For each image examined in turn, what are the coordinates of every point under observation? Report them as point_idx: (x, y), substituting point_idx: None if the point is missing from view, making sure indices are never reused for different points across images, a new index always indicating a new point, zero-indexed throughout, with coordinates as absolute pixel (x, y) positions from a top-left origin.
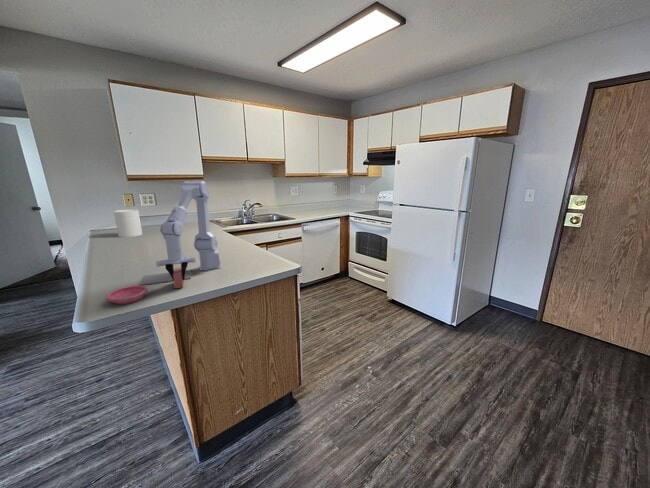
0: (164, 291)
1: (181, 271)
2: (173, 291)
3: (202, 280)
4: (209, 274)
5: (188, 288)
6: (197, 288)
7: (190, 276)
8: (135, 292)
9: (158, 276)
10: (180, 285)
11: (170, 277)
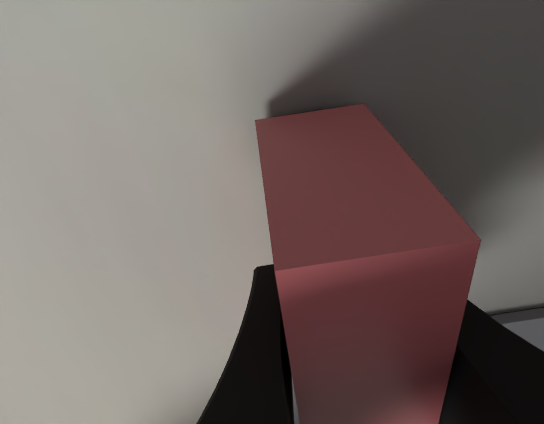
0: (495, 56)
1: (296, 393)
2: (375, 13)
3: (79, 303)
4: (74, 414)
5: (168, 81)
6: (8, 37)
7: None
8: None
9: None
10: (288, 129)
11: None
